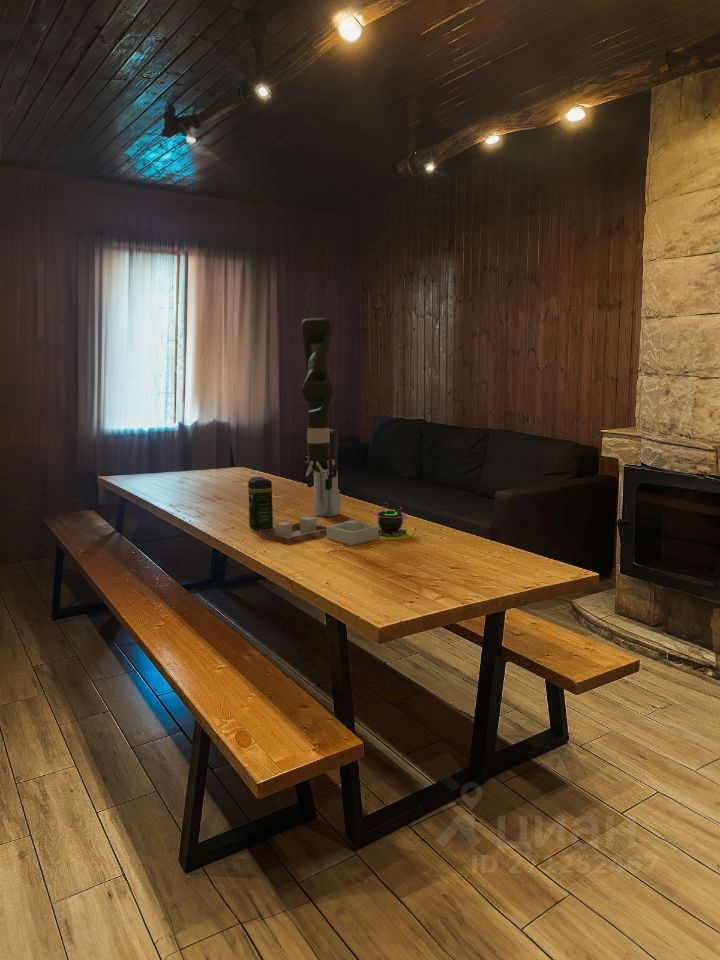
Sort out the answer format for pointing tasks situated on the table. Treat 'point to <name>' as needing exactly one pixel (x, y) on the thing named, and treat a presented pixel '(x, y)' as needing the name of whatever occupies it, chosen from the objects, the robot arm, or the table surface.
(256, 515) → the coffee jar
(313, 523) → the grey rectangular block
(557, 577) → the table surface
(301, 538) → the tray
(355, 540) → the dump tub
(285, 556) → the table surface
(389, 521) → the toy cauldron
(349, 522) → the stone
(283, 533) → the stone
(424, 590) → the table surface
